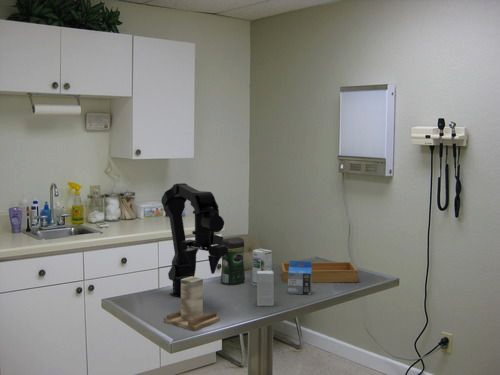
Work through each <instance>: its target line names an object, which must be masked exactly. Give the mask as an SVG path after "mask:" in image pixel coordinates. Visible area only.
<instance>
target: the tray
mask: <svg viewBox="0 0 500 375" xmlns="http://www.w3.org/2000/svg"><path fill="white" fill-rule="evenodd" d="M310 262H311V267H312V274H311V284H312V282H314V283H315V282H318V283H358V281H359V279H358V278H359V274H358V272H359V270H358V269H357V268H356V267H355V265H354V263H353V262H351V261H337V262H336V261H335V262H333V261H332V262H331V261H329V262H328V261H327V262H326V261H324V262H323V261H322V262H320V261H318V262H317V261H315V262H314V261H313V262H312V261H310ZM297 265H301V266H304V264H301V263H300V264H297ZM280 268H281V270H280V272H281V278H282V283H285V284H286V283H287V284H288V272H289V262H281V264H280ZM315 284H316V283H315Z"/></svg>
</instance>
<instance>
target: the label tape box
mask: <svg viewBox="0 0 500 375" xmlns="http://www.w3.org/2000/svg"><path fill="white" fill-rule="evenodd" d="M311 262H312V261H306V260H289V262H288V263H289V272H288V283H287V294H289V295H290V294H293V295H307V296H308V295H311V294H312V283H311V274H312V267H311ZM300 263H301V264H304V266H301V265H297V264H300Z"/></svg>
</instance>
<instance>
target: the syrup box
mask: <svg viewBox="0 0 500 375" xmlns="http://www.w3.org/2000/svg"><path fill="white" fill-rule="evenodd" d="M272 255H273V250H269V249H264V248H257V249H253V250H252V280H251V281H252V283H251V284H252V286H256V287H257V271H273V270H272V266H273V265H272V262H273V261H272V259H273V256H272Z"/></svg>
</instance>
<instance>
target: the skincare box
mask: <svg viewBox="0 0 500 375" xmlns="http://www.w3.org/2000/svg"><path fill="white" fill-rule="evenodd" d="M274 276H275V273H274V270H271V271H257V286H256V305H257V307H275V300H274V299H275V297H274V296H275V294H274V293H275V291H274V290H275V279H274Z"/></svg>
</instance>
